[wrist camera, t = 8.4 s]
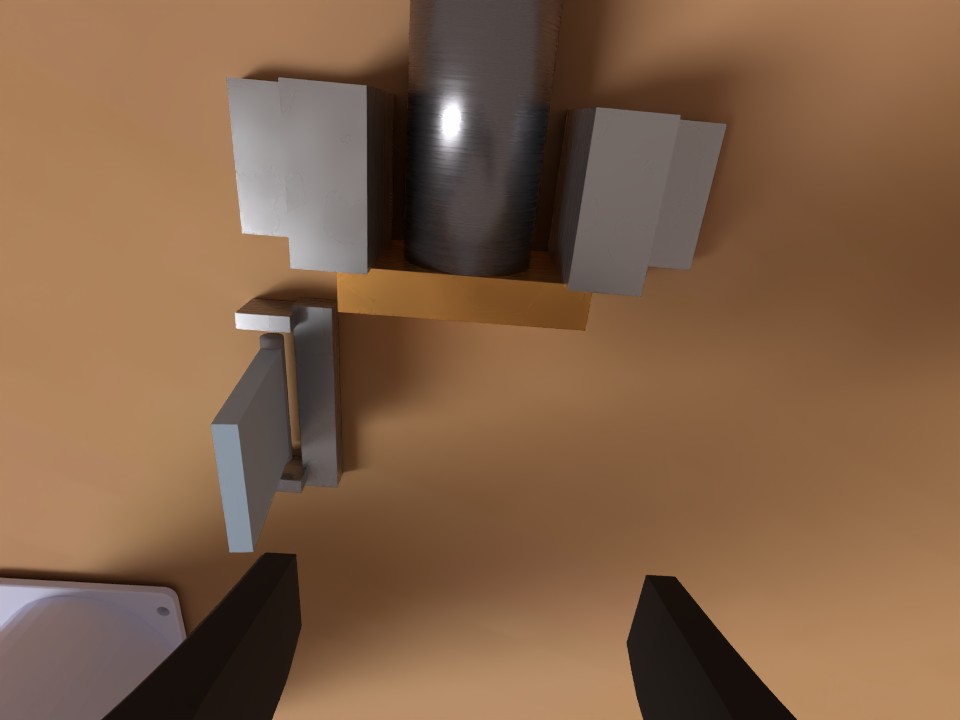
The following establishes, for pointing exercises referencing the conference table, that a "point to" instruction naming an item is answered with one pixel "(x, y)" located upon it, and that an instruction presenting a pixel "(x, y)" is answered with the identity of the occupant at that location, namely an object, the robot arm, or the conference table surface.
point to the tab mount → (308, 384)
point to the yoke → (369, 182)
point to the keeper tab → (253, 443)
